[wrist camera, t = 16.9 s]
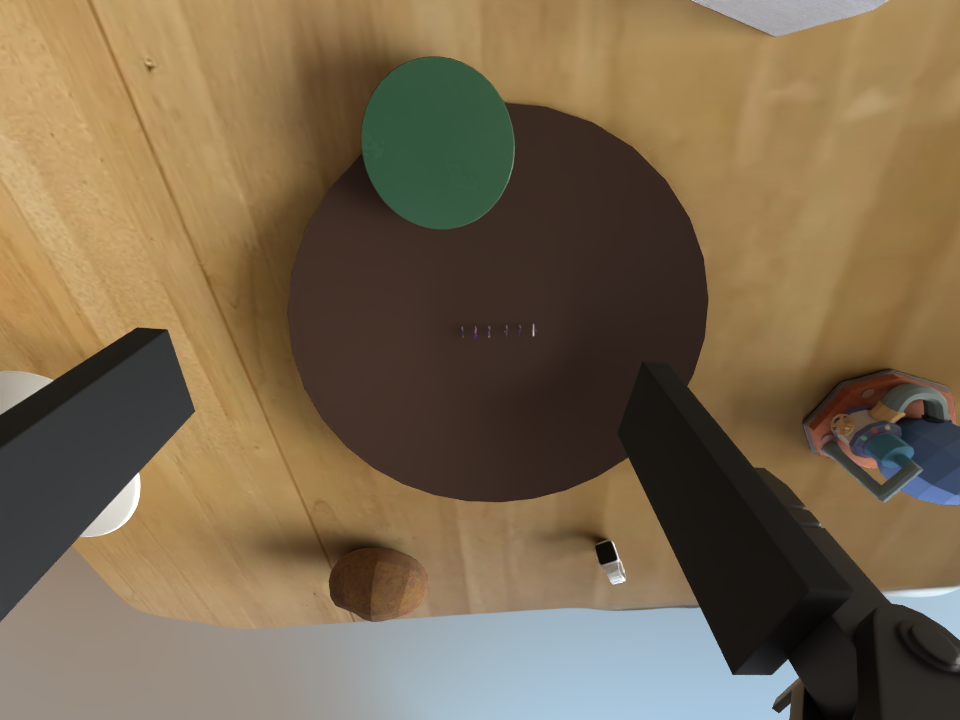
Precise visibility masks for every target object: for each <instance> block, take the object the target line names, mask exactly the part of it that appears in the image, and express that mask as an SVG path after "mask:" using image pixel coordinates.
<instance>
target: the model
mask: <svg viewBox="0 0 960 720" xmlns="http://www.w3.org/2000/svg"><path fill="white" fill-rule="evenodd" d="M955 423H956V420H955V412H954V401H953V395H952V394H950V391H949V387H947V386H945V385H942V384H938V383H935V382H932V381H928V380H925V379H922V378H918V377H915V376H912V375H908V374H905V373H902V372H898V371H895V370H891V369H888V370H885V371H881V372H878V373H874V374H871V375H868V376H864V377H860V378H856V379H851V380H847V381H843V382H840V383H839V384H838V385H837V386H836V388H835V389H834V390H833V391H832V392H831V393H830V394H829V395H828V397H827V398H826V399H825V400H824V401H823V402H822V403H821V404H820V405H819V406H818V408H817V409H816V410H815V411H814V412H813V413H812V414H811V415H810V416H809V417H808V418H807V419H806V420H805V421H804V422H803V427H804V430H805V433H806V436H807V440H808V443H809V447H810V450H811V451H812V452H813V453H817V454H820V455H822V456H825V457H829V458H833V459H835V460H836V461H837V462H838V463H839V464H840V465H841V466H842V467H843V468H844V469H846V470H847V471H848V472H849V473H850V474H851V475H852V476H853V477H854V478H855V479H857V480H858V481H859V482H860V483H861V484H862V485H863V486H864V487H865V488H866V489H867V490H869V491H870V492H871V493H872V494H873V495H875V496H876V497H877V498H878V499H879V500H881V501H883V502H886V501H887V500H889V499H890V498H891V497H892V496H894V495H895V494H896V493H897V492H898V491H899V490H901V491H903V492H905V493H907V494H909V495H910V496H912V497H914V498H916V499H920V500H924V501H928V502H932V503H936V504H940V505H960V426H958V425H955ZM858 465H859V466H862V467H867V468H871V469H873V468H877V467H878V468H879V470H880V472H881V473H882V474H883V475H884V476H885V477H886V478H887V479H888V480H887V481H886V482H885V483H884V484H883V485H882V486H881V485H880V484H879V483H878V482H877V481H876V480H874V479H873V478H872V477H871V476H870V475H869V474H868V473H866V472H865V471H864V470H863V469H862V468H861V467H859V466H858Z"/></svg>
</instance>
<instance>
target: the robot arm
mask: <svg viewBox="0 0 960 720" xmlns="http://www.w3.org/2000/svg"><path fill="white" fill-rule="evenodd" d="M194 412H195V409H194V406H193V403H192V400H191V398H190V395H189V392H188V389H187V386H186V383H185V380H184V377H183V374H182V371H181V368H180V365H179V362H178V359H177V356H176V353H175V350H174V347H173V344H172V341H171V338H170V335H169V333H168V330H166V329H151V328H136V329H134V330H133V331H131V332H129V333H128V334H126V335H125V336H123V337H122V338H120V339H118V340H117V341H115V342H114V343H112V344H111V345H109V346H107V347H106V348H104V349H103V350H101V351H100V352H98V353H96V354H95V355H93V356H92V357H90V358H89V359H87V360H85V361H84V362H82V363H81V364H79V365H78V366H76V367H74V368H73V369H71V370H70V371H68V372H67V373H65V374H63V375H62V376H60V377H59V378H57V379H56V380H54V381H52V382H51V383H49V384H48V385H46V386H45V387H43V388H41V389H40V390H38V391H37V392H35V393H34V394H32V395H30V396H29V397H27V398H26V399H24V400H23V401H21V402H19V403H18V404H16V405H15V406H13V407H12V408H10V409H8V410H7V411H5V412H4V413H2V414H1V415H0V622H1V621H2V620H3V618H4V617H5V616H6V615H7V614H8V613H9V612H10V611H11V610H12V609H13V608H14V607H15V606H16V604H17V603H18V602H19V601H20V600H21V599H22V598H23V597H24V596H25V595H26V594H27V593H28V591H29V590H30V589H31V588H32V587H33V586H34V585H35V584H36V583H37V582H38V581H39V580H40V578H41V577H42V576H43V575H44V574H45V573H46V572H47V571H48V570H49V569H50V568H51V567H52V565H53V564H54V563H55V562H56V561H57V560H58V559H59V558H60V557H61V556H62V555H63V554H64V552H65V551H66V550H67V549H68V548H69V547H70V546H71V545H72V544H73V543H74V542H75V541H76V540H77V538H78V537H79V536H80V535H81V534H82V533H83V532H84V531H85V530H86V529H87V528H88V527H89V525H90V524H91V523H92V522H93V521H94V520H95V519H96V518H97V517H98V516H99V515H100V514H101V513H102V511H103V510H104V509H105V508H106V507H107V506H108V505H109V504H110V503H111V502H112V501H113V500H114V498H115V497H116V496H117V495H118V494H119V493H120V492H121V491H122V490H123V489H124V488H125V487H126V485H127V484H128V483H129V482H130V481H131V480H132V479H133V478H134V477H135V476H136V475H137V474H138V472H139V471H140V470H141V469H142V468H143V467H144V466H145V465H146V464H147V463H148V462H149V461H150V460H151V458H152V457H153V456H154V455H155V454H156V453H157V452H158V451H159V450H160V449H161V448H162V447H163V445H164V444H165V443H166V442H167V441H168V440H169V439H170V438H171V437H172V436H173V435H174V434H175V432H176V431H177V430H178V429H179V428H180V427H181V426H182V425H183V424H184V423H185V422H186V421H187V419H188V418H189V417H190V416H191V415H192V414H193V413H194ZM617 434H618V437H619V439H620V441H621V443H622V445H623V447H624V449H625V451H626V453H627V455H628V457H629V460H630V462H631V464H632V466H633V468H634V470H635V472H636V474H637V476H638V478H639V480H640V482H641V485H642V487H643V489H644V491H645V493H646V495H647V497H648V499H649V501H650V503H651V505H652V507H653V510H654V512H655V514H656V516H657V518H658V520H659V522H660V524H661V526H662V528H663V530H664V533H665V535H666V537H667V539H668V541H669V543H670V545H671V547H672V549H673V551H674V553H675V555H676V558H677V560H678V562H679V564H680V566H681V568H682V570H683V572H684V574H685V576H686V578H687V581H688V583H689V585H690V587H691V589H692V591H693V593H694V595H695V597H696V599H697V601H698V603H699V606H700V608H701V609H702V612H703V614H704V616H705V618H706V620H707V622H708V624H709V626H710V628H711V630H712V633H713V635H714V637H715V639H716V641H717V643H718V645H719V647H720V649H721V651H722V654H723V656H724V658H725V660H726V662H727V664H728V666H729V668H730V670H731V672H732V674H733V675H772V674H773V673H774V672H775V671H776V670H777V669H778V668H779V667H780V666H781V665H782V664H783V663H784V662H786V661H787V659H789V661H790V663H791V664H792V666H793V668H794V670H795V671H796V673H797V675H798V676H799V678H798V679H797V680H796V681H795V682H794V683H793V684H792V685H791V686H789V687H788V688H787V689H786V690H785V691H784V692H783V693H782V694H781V695H780V696H778V697H777V698H776V700H775V702H774V705H773V707H772V709H774V710H775V711H776V712H778V713H780V712H781V711H782V710H783V709H784V708H785V707H787V706H788V705H789V704H790V703H791V708H790V719H789V720H960V640H959V639H957V638H956V637H955V636H954V635H953V634H952V633H950V632H949V631H948V630H947V629H946V628H944V627H943V626H941V625H940V624H938V623H937V622H935V621H933V620H932V619H930V618H928V617H927V616H925V615H924V614H922V613H920V612H917V611H915V610H913V609H910V608H908V607H905V606H903V605H897V604H891V603H890V602H889V601H888V600H887V599H886V598H885V596H884V595H883V594H882V593H881V592H880V591H879V590H878V589H877V587H876V586H875V585H874V584H873V583H872V582H871V581H870V579H869V578H868V577H867V576H866V575H865V574H864V573H863V571H862V570H861V569H860V568H859V567H858V566H857V565H856V563H855V562H854V561H853V560H852V559H851V558H850V557H849V555H848V554H847V553H846V552H845V551H844V550H843V549H842V547H841V546H840V545H839V544H838V543H837V542H836V541H835V539H834V538H833V537H832V536H831V535H830V534H829V533H828V531H827V530H826V529H825V528H821V526H820V524H821V523H820V522H819V521H818V520H817V519H816V518H815V517H814V515H813V514H812V513H811V512H810V511H809V510H806V509H805V507H806V506H805V505H804V504H803V503H802V502H801V501H800V499H799V498H798V497H797V496H796V495H795V494H794V493H793V491H792V490H791V489H790V488H789V487H788V486H787V485H786V484H785V483H783V482H782V481H781V480H779V479H778V478H777V477H775V476H774V475H773V474H771V473H770V472H769V471H767V470H766V469H765V468H754V467H753V466H752V465H751V464H750V462H749V461H748V460H747V459H746V457H745V456H744V455H743V454H742V453H741V451H740V450H739V449H738V448H737V447H736V445H735V444H734V443H733V442H732V440H731V439H730V438H729V437H728V436H727V434H726V433H725V432H724V431H723V430H722V428H721V427H720V426H719V425H718V423H717V422H716V421H715V420H714V419H713V417H712V416H711V415H710V414H709V413H708V411H707V410H706V409H705V408H704V406H703V405H702V404H701V403H700V402H699V400H698V399H697V398H696V397H695V396H694V394H693V393H692V392H691V391H690V390H689V388H688V387H687V386H686V385H685V383H684V382H683V381H682V380H681V379H680V377H679V376H678V375H677V374H676V373H675V371H674V370H673V369H672V368H671V366H670V365H669V364H668V363H661V362H646V361H642V364H641V366H640V369H639V372H638V375H637V378H636V381H635V384H634V386H633V389H632V392H631V395H630V398H629V401H628V404H627V406H626V409H625V412H624V415H623V418H622V421H621V424H620V426H619V429H618V432H617Z"/></svg>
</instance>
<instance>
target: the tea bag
mask: <svg viewBox="0 0 960 720" xmlns="http://www.w3.org/2000/svg"><path fill="white" fill-rule="evenodd" d="M691 1H694V2H696V3H698V4H701V5H703V6H705V7H707V8H710V9H712V10H714V11H717V12H719V13H721V14H724V15H726V16H728V17H731V18H733V19H735V20H738V21H740V22H742V23H745V24H747V25H749V26H751V27H754V28H756V29H758V30H761V31H763V32H765V33H768V34H770V35H772V36H775V37H779V36H783V35H786V34H790V33H794V32H797V31H801V30H804V29H808V28H811V27H815V26H818V25H822V24H826V23H829V22H833V21H836V20H840V19H843V18H847V17H851V16H854V15H858V14H861V13H865V12H868V11H872V10H875V9H877V8H878V7H879V6H881V5H882V4H884V3H885V2H887V1H888V0H691Z"/></svg>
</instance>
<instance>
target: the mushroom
mask: <svg viewBox="0 0 960 720" xmlns="http://www.w3.org/2000/svg"><path fill="white" fill-rule="evenodd" d="M52 381H54V380H52V379H49V378H47V377H44V376H41V375H37V374H33V373H28V372H22V371H0V415H1V414H2V413H4V412H5V411H7V410H8V409H10V408H12V407H13V406H15V405H16V404H18V403H19V402H21V401H23V400H24V399H26V398H27V397H29V396H30V395H32V394H34V393H35V392H37V391H38V390H40V389H41V388H43V387H45V386H46V385H48V384H49V383H51V382H52ZM139 495H140V477H139V472H138V474H137V475H136V476H135V477H134V478H133V479H132V480H131V481H130V482H129V483H128V484H127V485H126V487H125V488H124V489H123V490H122V491H121V492H120V493H119V494H118V495H117V496H116V497H115V498H114V500H113V501H112V502H111V503H110V504H109V505H108V506H107V507H106V508H105V509H104V510H103V511H102V513H101V514H100V515H99V516H98V517H97V518H96V519H95V520H94V521H93V522H92V523H91V524H90V525H89V527H88V528H87V529H86V530H85V531H84V532H83V533H82V534H81V535H80V536H79V537H94V536H100V535H104V534H107V533H110V532H112V531H114V530H116V529H117V528H119V527H120V526H122V525H123V524H124V523H125V522H126V521H127V520H128V519H129V518H130V517H131V515H132V514H133V512H134V511H135V509H136V506H137V504H138V500H139Z"/></svg>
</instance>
